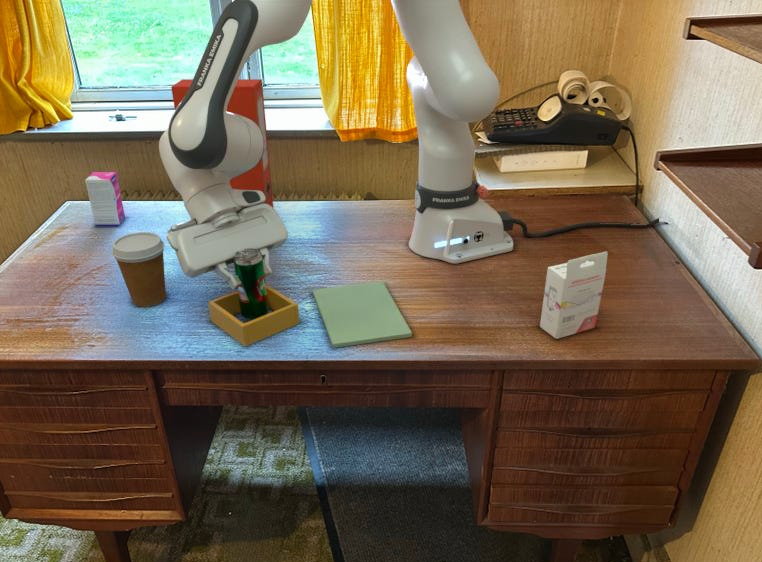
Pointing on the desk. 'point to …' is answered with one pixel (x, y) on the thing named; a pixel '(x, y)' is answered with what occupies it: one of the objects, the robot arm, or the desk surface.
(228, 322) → the frame
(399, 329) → the green mat
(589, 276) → the ink cartridge box
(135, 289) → the disposable coffee cup
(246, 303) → the soda can
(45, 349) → the desk surface
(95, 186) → the supplement box
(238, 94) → the file binder
